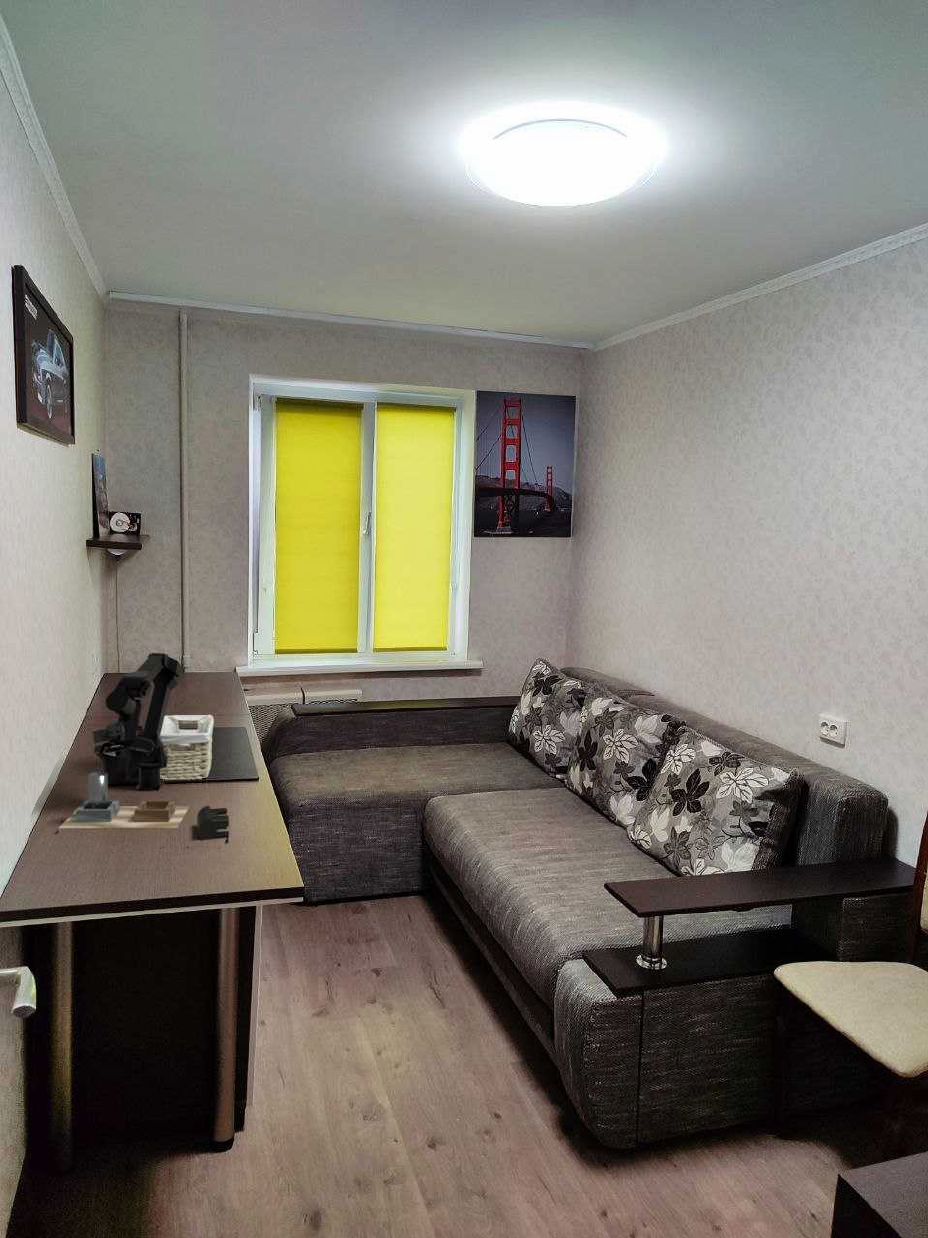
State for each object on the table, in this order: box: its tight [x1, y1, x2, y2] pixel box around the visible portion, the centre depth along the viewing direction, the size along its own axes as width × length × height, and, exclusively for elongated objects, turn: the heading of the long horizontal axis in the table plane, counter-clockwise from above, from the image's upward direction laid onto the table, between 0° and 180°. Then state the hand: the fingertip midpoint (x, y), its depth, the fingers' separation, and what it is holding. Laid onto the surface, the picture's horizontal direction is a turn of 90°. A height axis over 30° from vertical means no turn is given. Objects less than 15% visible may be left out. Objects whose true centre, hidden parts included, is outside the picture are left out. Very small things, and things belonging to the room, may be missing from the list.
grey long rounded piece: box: [88, 771, 109, 809], centre depth 225 cm, size 4×4×11 cm
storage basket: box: [160, 714, 215, 781], centre depth 272 cm, size 24×16×15 cm
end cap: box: [196, 805, 230, 844], centre depth 218 cm, size 10×7×7 cm
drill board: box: [58, 799, 190, 833], centre depth 226 cm, size 16×28×4 cm, turn 97°
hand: (117, 779), depth 231 cm, fingers open, 9 cm apart
